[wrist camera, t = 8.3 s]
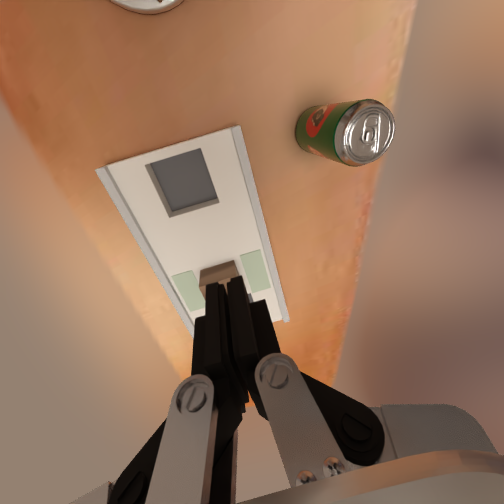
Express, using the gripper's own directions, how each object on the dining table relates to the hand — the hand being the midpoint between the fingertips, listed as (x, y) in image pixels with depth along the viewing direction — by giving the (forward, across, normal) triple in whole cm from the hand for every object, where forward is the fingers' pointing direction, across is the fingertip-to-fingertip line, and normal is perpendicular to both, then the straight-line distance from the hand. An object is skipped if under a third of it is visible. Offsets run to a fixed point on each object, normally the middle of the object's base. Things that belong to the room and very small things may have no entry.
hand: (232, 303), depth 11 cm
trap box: (+22, +4, +10) cm, 25 cm away
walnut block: (+20, +3, +13) cm, 24 cm away
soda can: (+23, -13, -2) cm, 27 cm away
